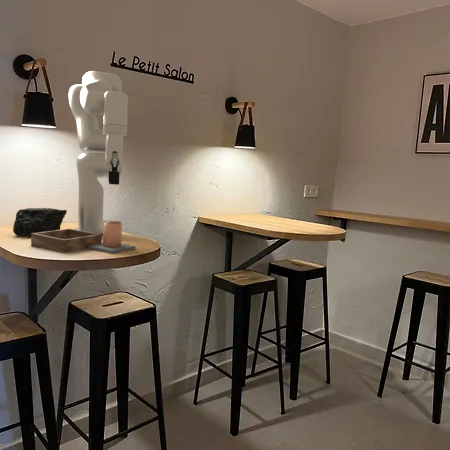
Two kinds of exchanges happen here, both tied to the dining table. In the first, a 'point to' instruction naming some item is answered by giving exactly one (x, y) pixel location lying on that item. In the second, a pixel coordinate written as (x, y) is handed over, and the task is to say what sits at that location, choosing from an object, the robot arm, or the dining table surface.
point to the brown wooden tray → (65, 240)
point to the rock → (37, 220)
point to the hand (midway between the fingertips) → (113, 183)
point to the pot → (112, 233)
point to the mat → (111, 248)
